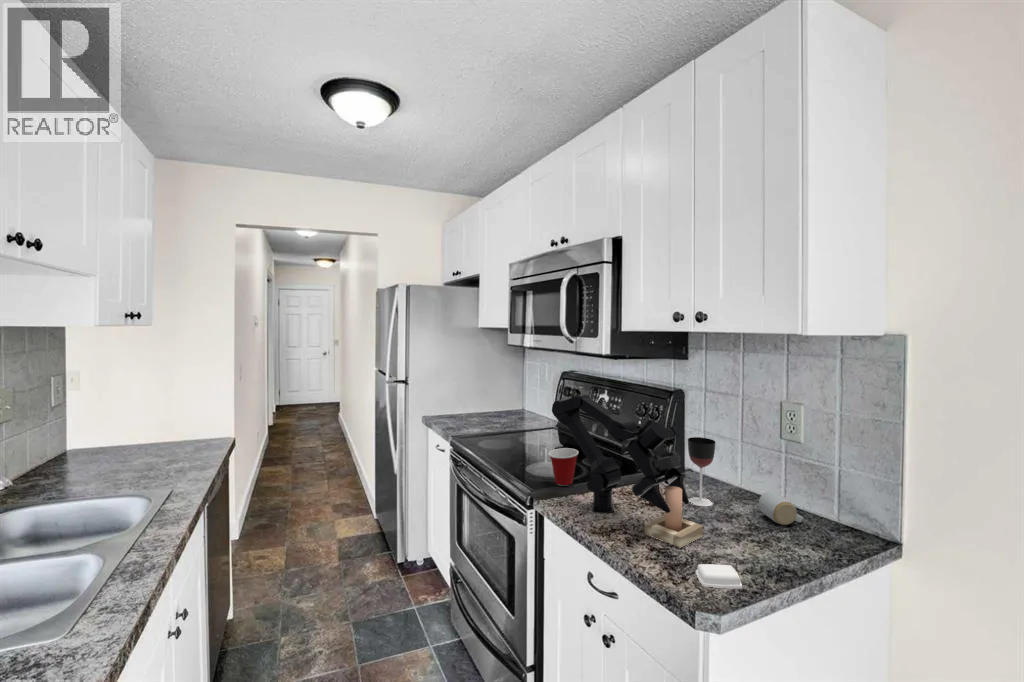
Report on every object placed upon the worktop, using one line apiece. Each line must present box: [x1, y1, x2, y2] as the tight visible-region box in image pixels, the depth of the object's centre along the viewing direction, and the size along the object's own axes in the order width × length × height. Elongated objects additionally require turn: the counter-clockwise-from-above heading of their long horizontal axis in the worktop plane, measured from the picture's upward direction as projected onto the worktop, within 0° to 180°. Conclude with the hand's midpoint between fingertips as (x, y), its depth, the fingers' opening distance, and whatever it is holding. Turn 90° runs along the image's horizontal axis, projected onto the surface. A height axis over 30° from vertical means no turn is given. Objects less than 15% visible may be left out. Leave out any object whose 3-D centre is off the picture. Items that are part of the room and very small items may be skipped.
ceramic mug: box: [758, 490, 804, 526], centre depth 142 cm, size 11×8×8 cm
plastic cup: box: [548, 447, 579, 485], centre depth 173 cm, size 11×11×12 cm
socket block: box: [644, 514, 704, 549], centre depth 132 cm, size 11×11×3 cm
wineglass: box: [687, 436, 716, 507], centre depth 156 cm, size 8×9×20 cm
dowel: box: [664, 485, 683, 532], centre depth 132 cm, size 4×4×12 cm
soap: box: [695, 563, 743, 590], centre depth 110 cm, size 9×7×3 cm
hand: (678, 507), depth 131 cm, fingers open, 9 cm apart
